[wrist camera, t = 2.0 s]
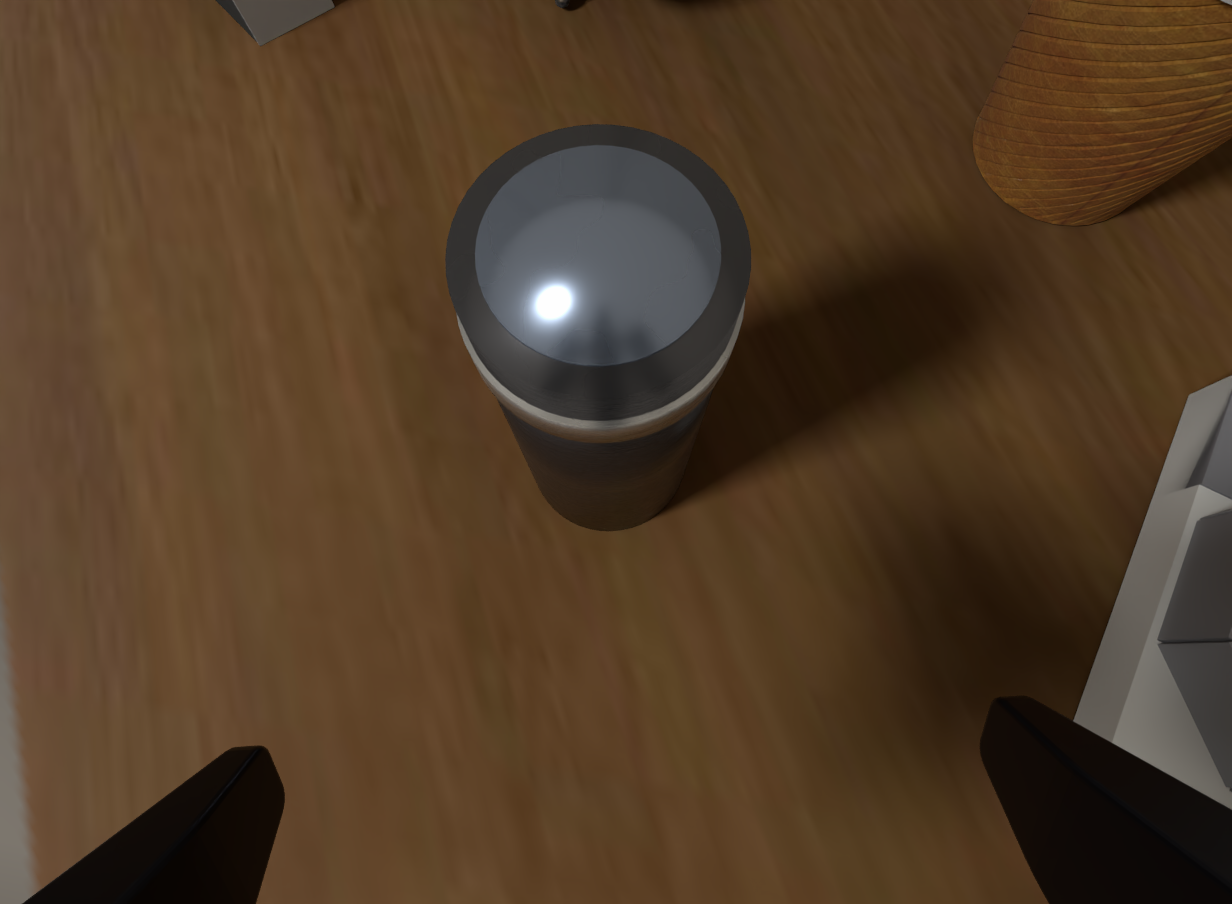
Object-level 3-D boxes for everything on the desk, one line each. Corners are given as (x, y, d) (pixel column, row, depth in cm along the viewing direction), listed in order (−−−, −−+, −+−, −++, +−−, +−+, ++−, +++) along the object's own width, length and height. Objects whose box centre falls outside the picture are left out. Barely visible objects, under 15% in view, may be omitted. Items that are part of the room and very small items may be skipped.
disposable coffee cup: (997, 8, 29) (1249, -424, 17) (1230, 122, 27) (1673, -267, 16) (881, 182, 27) (1079, -177, 15) (1125, 316, 25) (1549, 30, 14)
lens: (641, 563, 23) (666, 459, 11) (499, 486, 24) (375, 309, 12) (715, 424, 24) (810, 193, 12) (578, 355, 25) (539, 70, 13)
